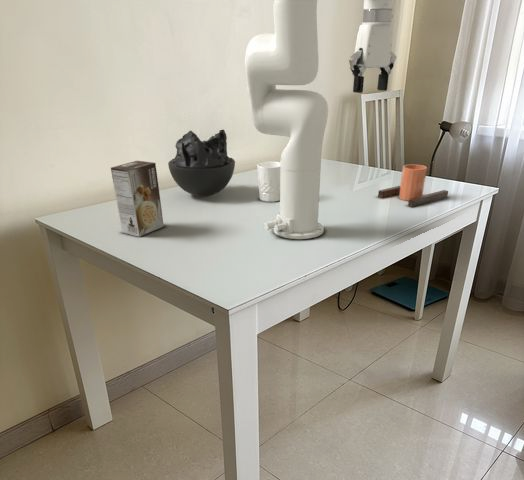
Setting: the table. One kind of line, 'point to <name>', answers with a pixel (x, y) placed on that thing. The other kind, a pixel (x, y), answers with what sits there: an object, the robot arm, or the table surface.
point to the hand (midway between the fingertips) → (370, 91)
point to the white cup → (269, 181)
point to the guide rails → (416, 200)
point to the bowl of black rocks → (202, 164)
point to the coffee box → (137, 197)
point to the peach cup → (412, 181)
